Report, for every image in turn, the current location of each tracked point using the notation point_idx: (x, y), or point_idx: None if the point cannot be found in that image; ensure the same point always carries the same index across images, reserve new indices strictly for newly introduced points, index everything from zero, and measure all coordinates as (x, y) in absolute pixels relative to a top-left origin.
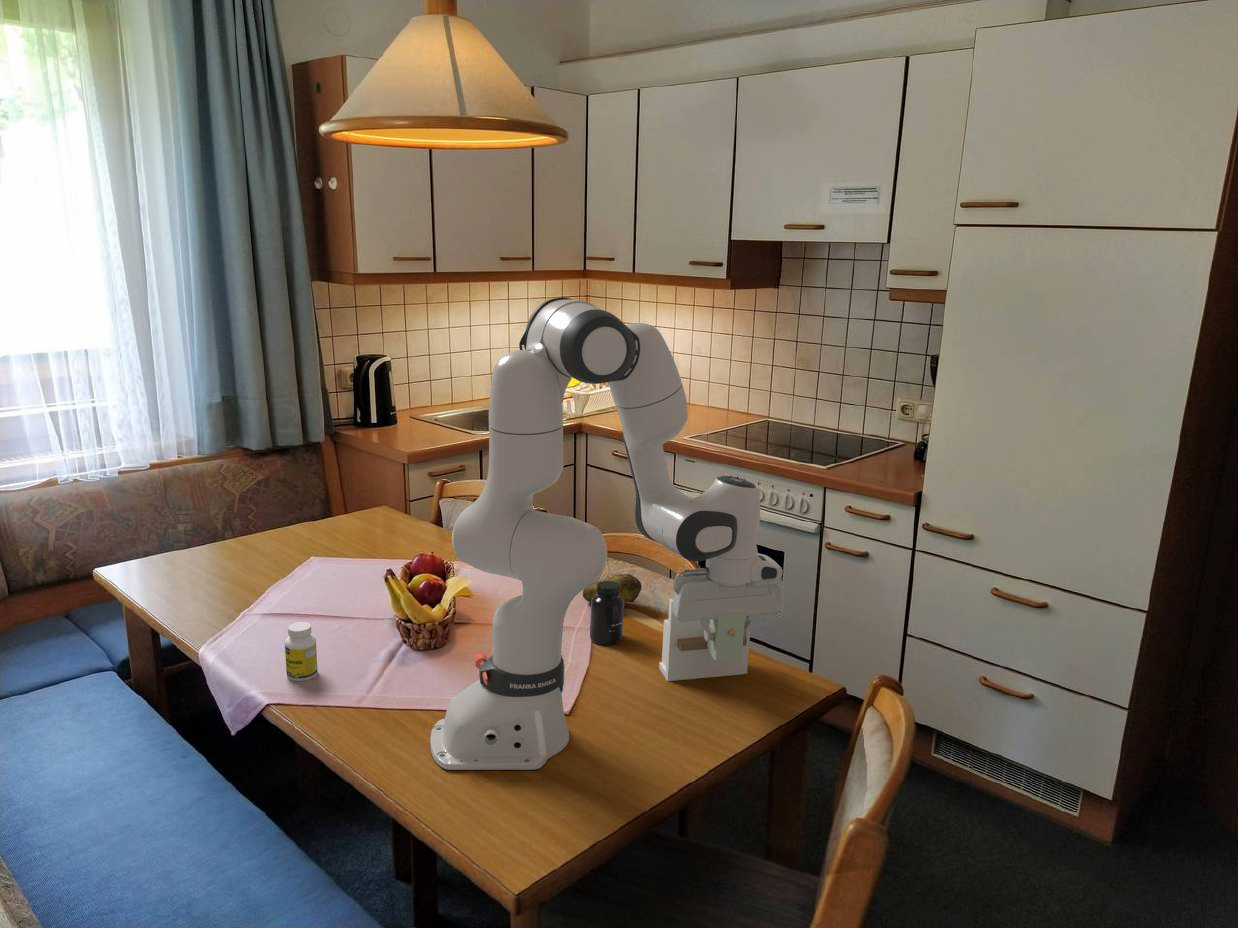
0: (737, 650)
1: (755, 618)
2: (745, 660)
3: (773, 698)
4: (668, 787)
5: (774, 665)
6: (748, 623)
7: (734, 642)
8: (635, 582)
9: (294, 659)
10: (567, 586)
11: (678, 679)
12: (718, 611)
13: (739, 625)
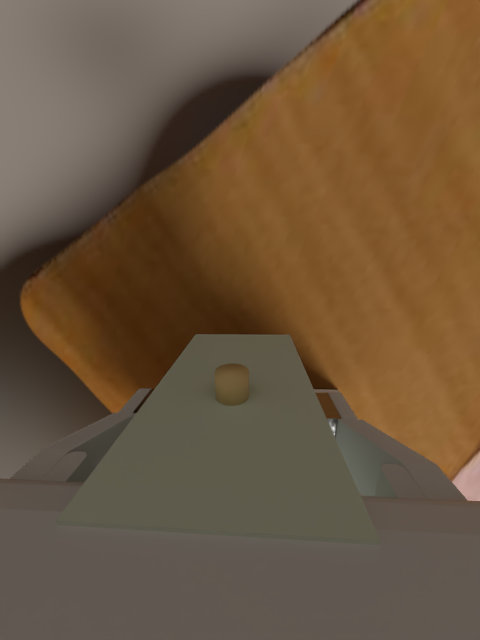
0: (207, 345)
1: (31, 461)
2: None
3: (147, 286)
4: None
5: (111, 402)
6: (103, 442)
7: (215, 361)
8: None
9: None
10: None
11: (315, 389)
12: (405, 603)
13: (167, 417)
